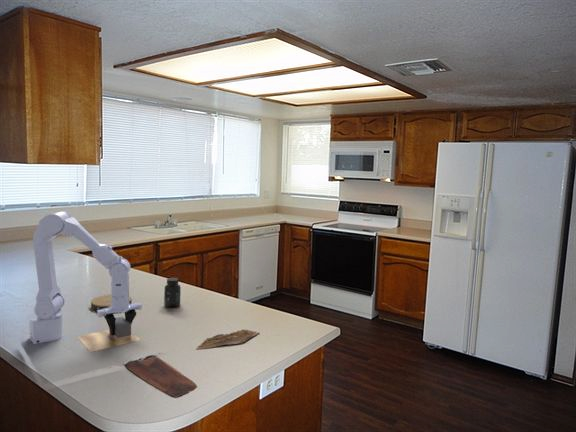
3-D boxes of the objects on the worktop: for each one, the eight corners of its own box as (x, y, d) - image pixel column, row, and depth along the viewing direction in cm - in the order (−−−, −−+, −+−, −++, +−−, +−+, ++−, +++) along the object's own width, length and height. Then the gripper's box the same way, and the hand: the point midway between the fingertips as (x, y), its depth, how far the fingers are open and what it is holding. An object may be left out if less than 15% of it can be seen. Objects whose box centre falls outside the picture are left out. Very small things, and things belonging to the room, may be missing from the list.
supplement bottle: (160, 306, 182) (161, 279, 181) (171, 302, 188) (172, 276, 187) (172, 309, 179) (173, 282, 177) (183, 305, 185) (184, 278, 184)
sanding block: (117, 340, 141) (117, 326, 140) (109, 332, 147) (109, 319, 146) (130, 337, 144) (131, 323, 143) (122, 330, 150) (122, 316, 149)
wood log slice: (106, 299, 189) (106, 292, 189) (138, 303, 186) (138, 296, 186) (82, 310, 174) (82, 303, 173) (117, 314, 170) (117, 307, 170)
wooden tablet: (202, 383, 117) (171, 392, 110) (201, 391, 117) (170, 401, 110) (152, 353, 135) (123, 359, 127) (152, 360, 135) (122, 366, 127)
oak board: (90, 356, 132) (90, 351, 132) (76, 340, 143) (76, 336, 143) (140, 344, 143) (140, 339, 143) (123, 330, 154) (123, 326, 154)
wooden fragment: (250, 328, 162) (251, 326, 162) (266, 339, 153) (266, 336, 153) (188, 343, 146) (188, 340, 146) (201, 355, 138) (201, 352, 138)
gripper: (102, 301, 136) (102, 341, 138) (145, 294, 146) (145, 331, 147) (95, 296, 141) (95, 334, 143) (137, 289, 151) (137, 325, 152)
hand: (120, 332), depth 145 cm, fingers closed on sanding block, 4 cm apart
